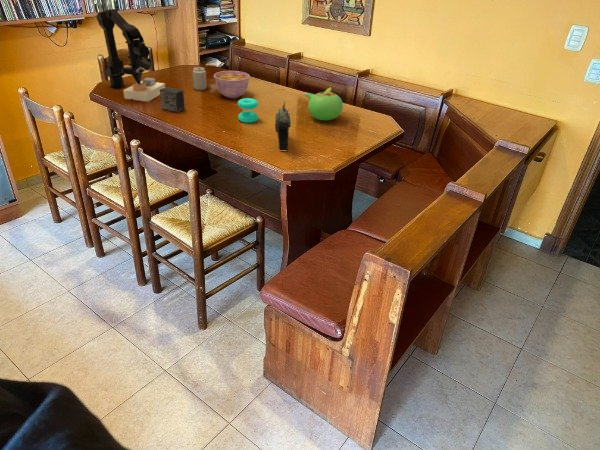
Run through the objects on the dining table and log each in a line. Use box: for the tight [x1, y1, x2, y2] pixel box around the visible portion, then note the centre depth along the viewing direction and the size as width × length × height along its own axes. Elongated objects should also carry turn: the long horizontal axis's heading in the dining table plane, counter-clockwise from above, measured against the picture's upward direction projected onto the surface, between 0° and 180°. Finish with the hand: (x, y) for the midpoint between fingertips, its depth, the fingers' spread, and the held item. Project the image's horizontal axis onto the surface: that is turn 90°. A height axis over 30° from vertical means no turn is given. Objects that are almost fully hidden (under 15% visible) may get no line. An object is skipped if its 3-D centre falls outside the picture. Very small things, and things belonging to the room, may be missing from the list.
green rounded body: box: [303, 86, 344, 121], centre depth 229 cm, size 18×17×15 cm
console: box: [122, 80, 166, 102], centre depth 249 cm, size 14×20×4 cm
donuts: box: [237, 97, 259, 124], centre depth 223 cm, size 10×10×10 cm
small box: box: [159, 86, 186, 114], centre depth 230 cm, size 11×6×10 cm, turn 65°
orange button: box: [132, 82, 146, 91], centre depth 243 cm, size 5×5×4 cm
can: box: [192, 66, 208, 91], centre depth 261 cm, size 8×8×12 cm
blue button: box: [141, 77, 156, 86], centre depth 251 cm, size 5×5×4 cm
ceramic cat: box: [274, 101, 292, 151], centre depth 197 cm, size 20×6×20 cm, turn 5°
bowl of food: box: [213, 70, 251, 99], centre depth 253 cm, size 20×20×12 cm
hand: (139, 83), depth 242 cm, fingers closed
